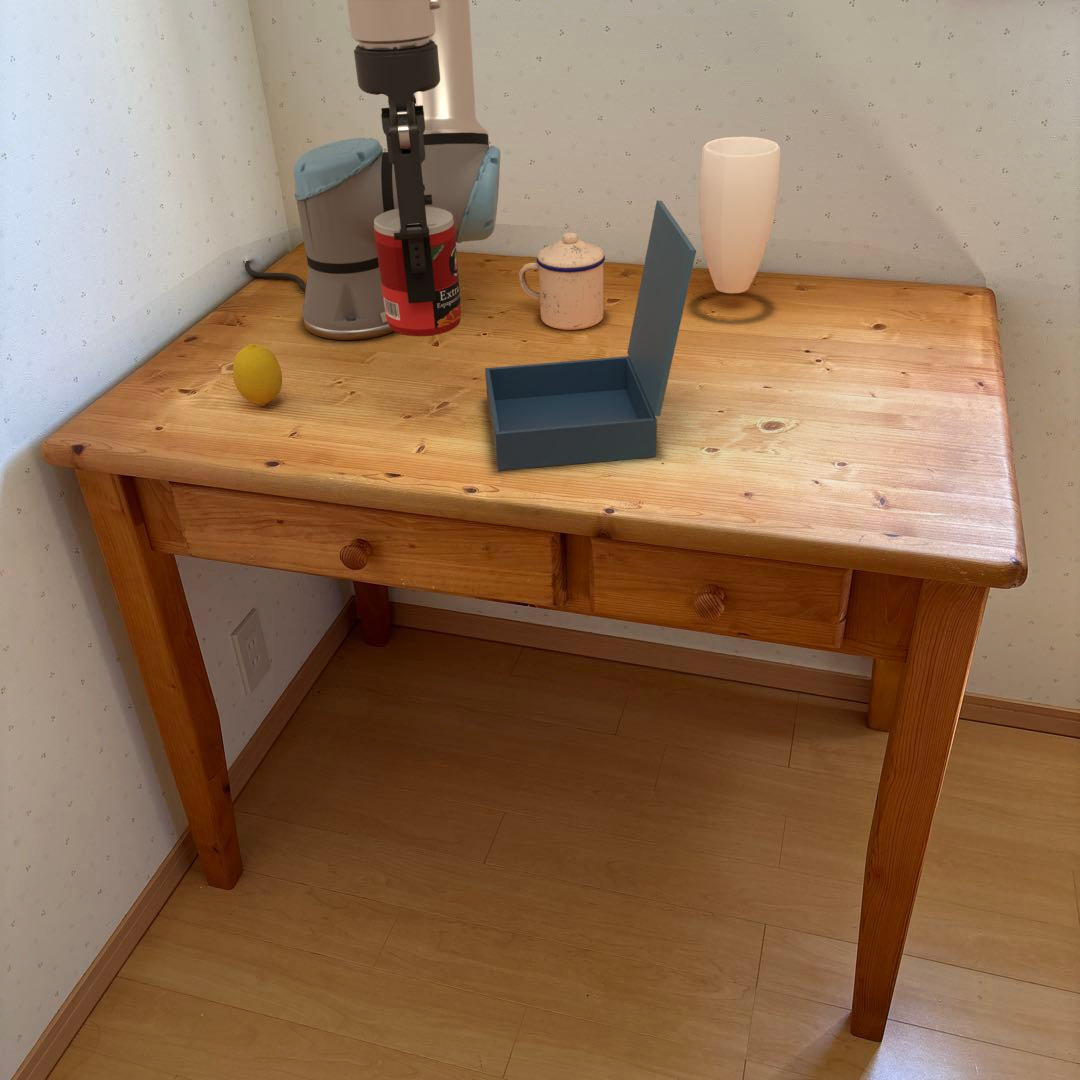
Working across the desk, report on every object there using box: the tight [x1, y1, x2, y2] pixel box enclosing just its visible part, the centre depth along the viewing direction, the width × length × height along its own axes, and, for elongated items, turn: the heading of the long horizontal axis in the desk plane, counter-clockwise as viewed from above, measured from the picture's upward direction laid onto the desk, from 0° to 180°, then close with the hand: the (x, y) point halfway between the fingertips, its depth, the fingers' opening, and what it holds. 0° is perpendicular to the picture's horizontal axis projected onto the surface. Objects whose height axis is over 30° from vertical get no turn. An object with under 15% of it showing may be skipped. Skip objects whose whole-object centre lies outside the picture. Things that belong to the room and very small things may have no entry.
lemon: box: [232, 342, 283, 407], centre depth 124 cm, size 6×6×8 cm
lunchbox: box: [484, 355, 658, 472], centre depth 117 cm, size 17×16×4 cm
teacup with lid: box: [518, 232, 606, 331], centre depth 141 cm, size 12×9×12 cm
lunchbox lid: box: [627, 199, 697, 417], centre depth 111 cm, size 18×16×1 cm
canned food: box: [374, 207, 463, 337], centre depth 106 cm, size 8×8×11 cm
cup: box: [698, 136, 781, 294], centre depth 139 cm, size 10×10×22 cm
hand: (421, 285), depth 107 cm, fingers closed on canned food, 8 cm apart
